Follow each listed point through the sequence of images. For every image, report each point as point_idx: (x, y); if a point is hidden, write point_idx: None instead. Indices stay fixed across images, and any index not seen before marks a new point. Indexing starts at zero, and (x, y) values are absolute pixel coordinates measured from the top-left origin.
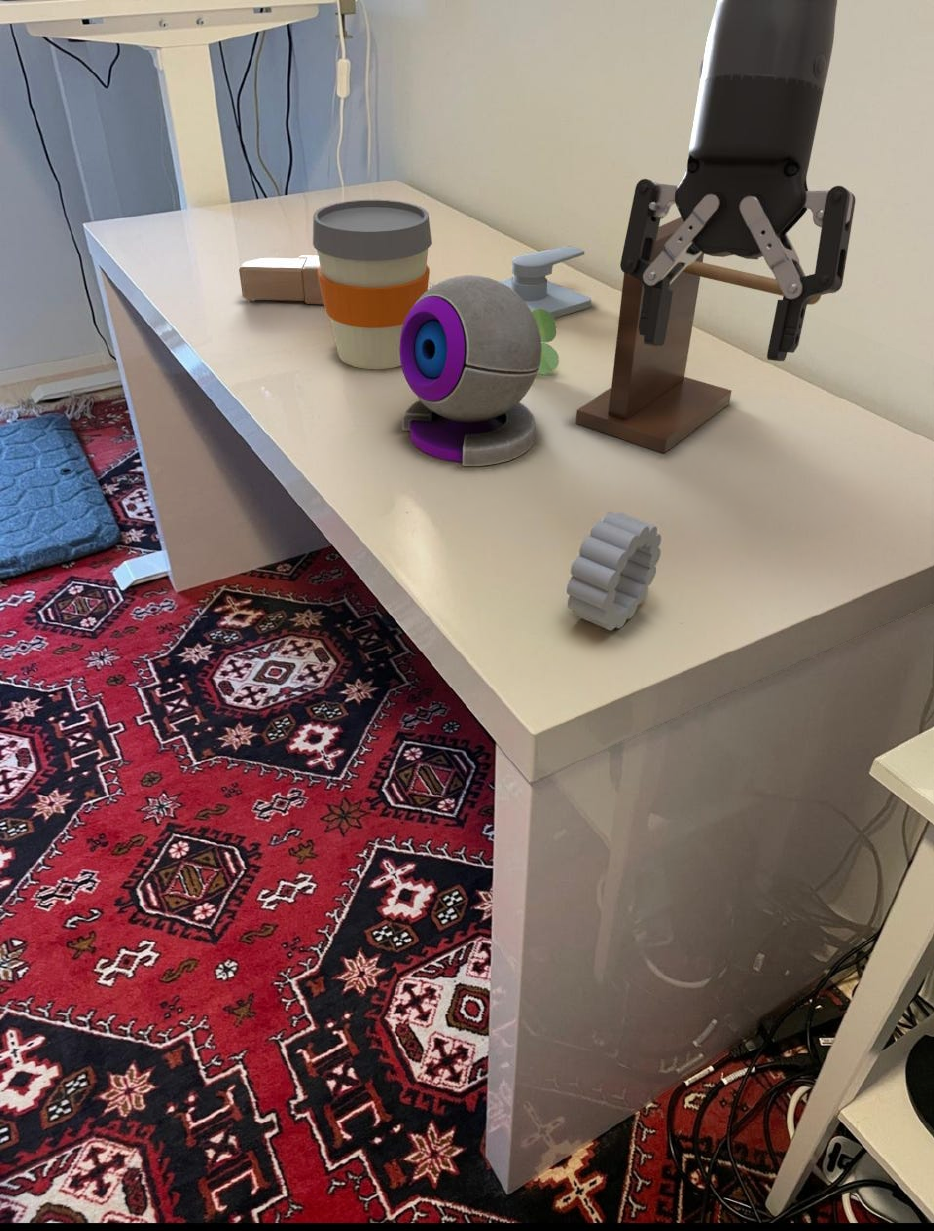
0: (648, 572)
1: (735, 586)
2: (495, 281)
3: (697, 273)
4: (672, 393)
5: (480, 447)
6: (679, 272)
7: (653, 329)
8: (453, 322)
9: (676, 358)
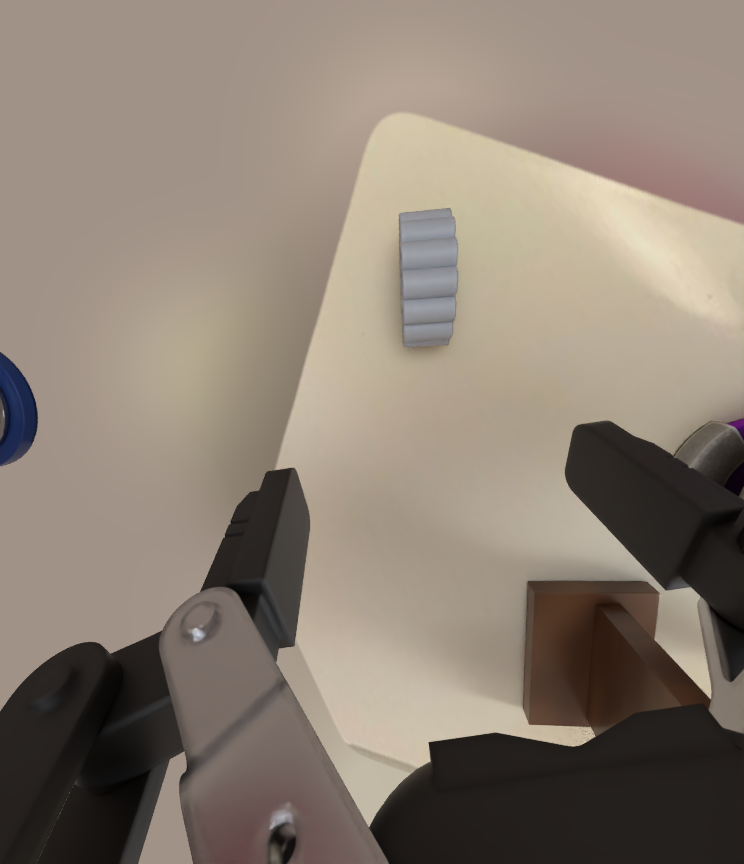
0: (402, 324)
1: (355, 417)
2: None
3: None
4: (581, 685)
5: (715, 443)
6: (712, 648)
7: (606, 436)
8: None
9: None
